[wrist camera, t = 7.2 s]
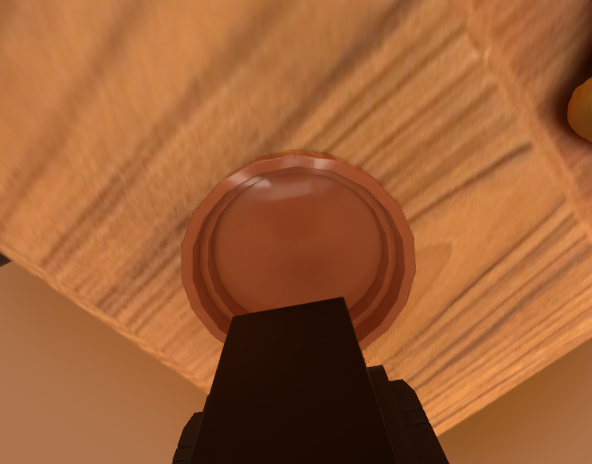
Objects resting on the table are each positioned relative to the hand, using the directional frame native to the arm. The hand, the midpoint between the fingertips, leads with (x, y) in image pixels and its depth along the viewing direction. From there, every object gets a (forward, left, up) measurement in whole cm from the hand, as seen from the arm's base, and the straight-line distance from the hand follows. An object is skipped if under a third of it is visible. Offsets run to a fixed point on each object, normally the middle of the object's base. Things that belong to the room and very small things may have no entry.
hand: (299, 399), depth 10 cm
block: (0, 0, -2) cm, 2 cm away
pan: (0, 0, -12) cm, 12 cm away
